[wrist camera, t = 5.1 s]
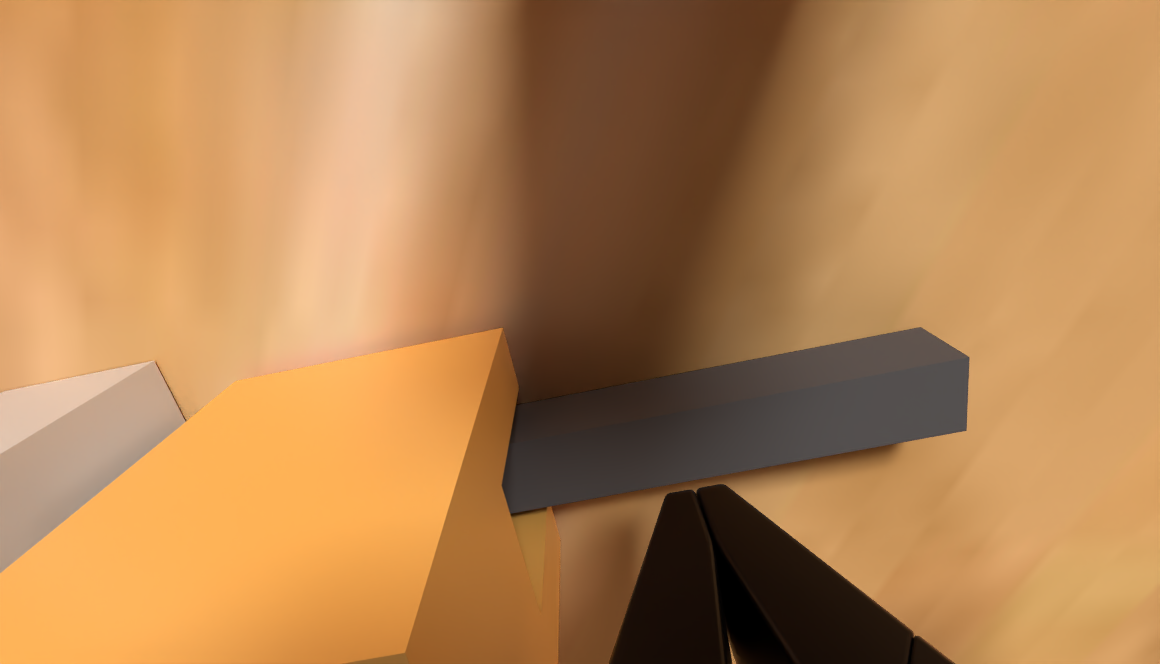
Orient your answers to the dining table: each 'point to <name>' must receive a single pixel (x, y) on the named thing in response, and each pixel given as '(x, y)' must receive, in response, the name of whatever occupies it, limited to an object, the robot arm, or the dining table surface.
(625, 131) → the dining table surface
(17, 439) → the grey i-beam piece
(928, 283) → the dining table surface
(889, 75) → the dining table surface
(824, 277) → the dining table surface
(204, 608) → the notched orange cube
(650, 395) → the bar
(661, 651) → the robot arm
